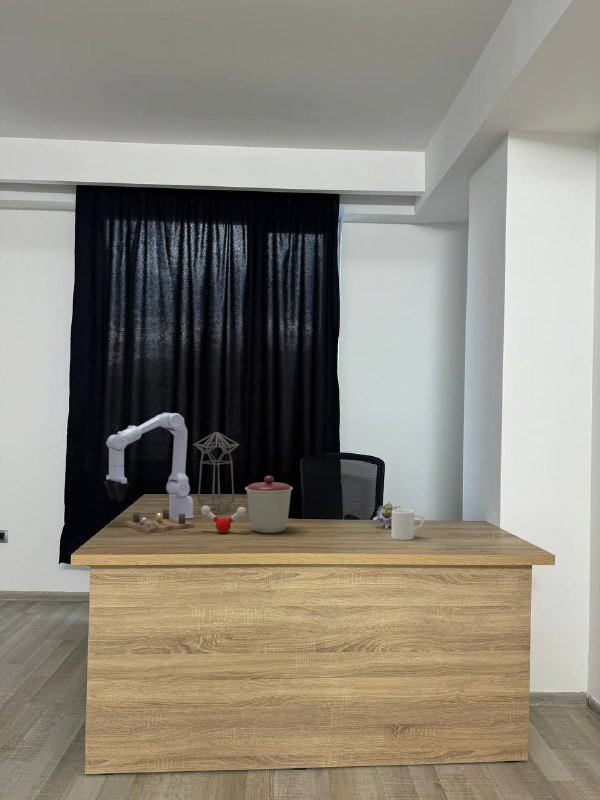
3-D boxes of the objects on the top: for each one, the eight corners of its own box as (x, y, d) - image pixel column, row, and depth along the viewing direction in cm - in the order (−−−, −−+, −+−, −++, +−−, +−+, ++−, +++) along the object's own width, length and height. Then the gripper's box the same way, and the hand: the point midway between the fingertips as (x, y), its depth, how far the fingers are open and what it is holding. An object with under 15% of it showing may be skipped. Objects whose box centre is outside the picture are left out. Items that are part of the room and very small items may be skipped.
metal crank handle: (142, 524, 281) (142, 516, 281) (139, 523, 283) (139, 515, 283) (163, 522, 287) (163, 513, 287) (160, 521, 289) (160, 512, 289)
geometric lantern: (214, 507, 333) (215, 430, 332) (241, 511, 324) (241, 432, 323) (190, 512, 320) (190, 432, 320) (217, 516, 311) (217, 433, 310)
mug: (425, 540, 263) (425, 513, 262) (391, 539, 264) (391, 512, 264) (424, 536, 271) (424, 509, 270) (391, 535, 272) (391, 508, 272)
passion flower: (386, 542, 285) (368, 518, 284) (388, 532, 296) (371, 508, 295) (410, 528, 282) (392, 503, 281) (411, 518, 293) (394, 493, 292)
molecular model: (247, 532, 276) (247, 506, 275) (243, 535, 270) (243, 508, 270) (202, 530, 279) (203, 504, 279) (198, 533, 274) (198, 506, 273)
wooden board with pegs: (169, 520, 301) (169, 507, 301) (194, 527, 285) (194, 514, 285) (124, 525, 288) (124, 512, 288) (147, 533, 273) (147, 519, 273)
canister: (302, 531, 279) (302, 475, 279) (268, 537, 266) (268, 479, 266) (268, 524, 292) (269, 471, 292) (234, 531, 279) (235, 475, 278)
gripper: (99, 464, 291) (99, 498, 291) (114, 467, 280) (114, 503, 280) (116, 463, 296) (115, 497, 296) (131, 466, 284) (131, 501, 284)
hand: (116, 499), depth 288 cm, fingers open, 7 cm apart
